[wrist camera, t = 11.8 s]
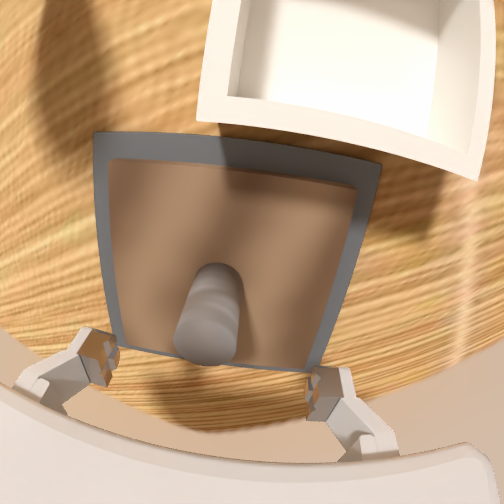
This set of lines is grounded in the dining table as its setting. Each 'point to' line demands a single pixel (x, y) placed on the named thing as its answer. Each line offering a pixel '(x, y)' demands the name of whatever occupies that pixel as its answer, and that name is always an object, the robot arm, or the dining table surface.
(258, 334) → the lid
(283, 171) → the mat
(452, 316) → the dining table surface
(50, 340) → the dining table surface
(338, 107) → the dish
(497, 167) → the dining table surface
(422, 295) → the dining table surface
